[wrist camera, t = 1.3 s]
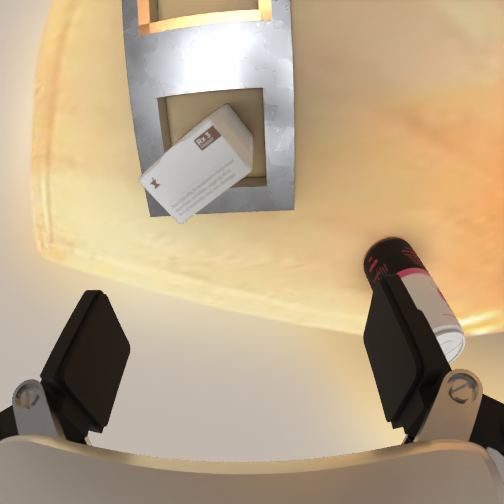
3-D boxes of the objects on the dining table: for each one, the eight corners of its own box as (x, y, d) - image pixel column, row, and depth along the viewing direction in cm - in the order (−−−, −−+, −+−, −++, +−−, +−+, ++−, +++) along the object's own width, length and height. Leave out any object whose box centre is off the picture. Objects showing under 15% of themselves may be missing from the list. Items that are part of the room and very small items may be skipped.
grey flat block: (131, -62, 16) (121, -70, 13) (279, -82, 15) (281, -93, 13) (157, 206, 32) (150, 218, 30) (291, 199, 31) (294, 210, 29)
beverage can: (353, 257, 35) (393, 360, 23) (398, 226, 33) (460, 318, 20) (377, 289, 38) (414, 385, 25) (418, 261, 36) (471, 351, 23)
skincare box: (206, 171, 30) (180, 233, 20) (177, 138, 28) (132, 183, 18) (257, 134, 28) (258, 177, 18) (227, 97, 26) (208, 117, 16)
